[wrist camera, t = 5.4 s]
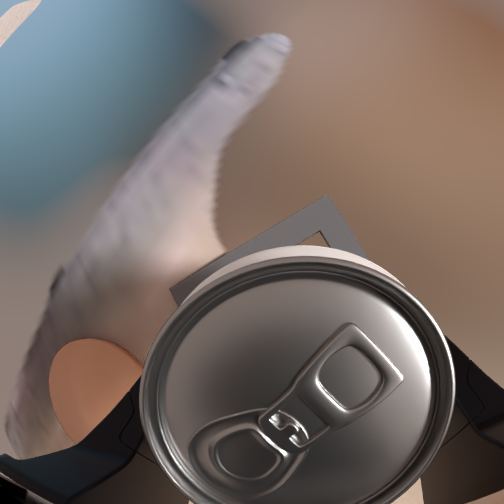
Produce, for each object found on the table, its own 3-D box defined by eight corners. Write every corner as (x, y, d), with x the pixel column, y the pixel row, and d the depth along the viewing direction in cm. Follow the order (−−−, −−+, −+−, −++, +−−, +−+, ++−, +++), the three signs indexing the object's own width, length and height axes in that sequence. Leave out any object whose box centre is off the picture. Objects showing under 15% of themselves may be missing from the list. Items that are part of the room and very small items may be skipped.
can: (213, 327, 16) (66, 387, 5) (297, 247, 16) (307, 146, 5) (291, 407, 15) (279, 573, 4) (376, 330, 15) (517, 396, 3)
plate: (194, 446, 21) (189, 452, 20) (98, 471, 21) (93, 476, 20) (119, 314, 23) (112, 314, 22) (40, 364, 24) (33, 366, 23)
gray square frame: (416, 350, 20) (419, 352, 19) (260, 439, 20) (259, 442, 20) (327, 196, 22) (327, 194, 22) (172, 288, 23) (169, 288, 22)
